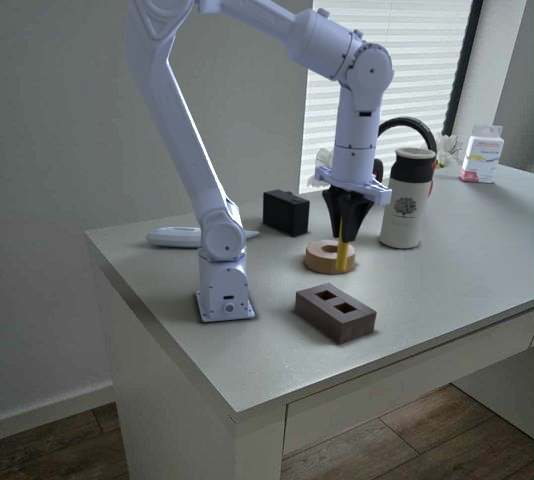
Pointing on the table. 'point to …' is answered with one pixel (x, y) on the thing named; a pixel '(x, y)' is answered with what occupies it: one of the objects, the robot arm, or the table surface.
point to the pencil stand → (335, 312)
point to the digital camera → (286, 212)
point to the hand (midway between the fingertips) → (343, 239)
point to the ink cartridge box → (482, 154)
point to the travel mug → (407, 197)
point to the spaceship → (181, 236)
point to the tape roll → (327, 256)
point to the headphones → (414, 124)
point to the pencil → (341, 252)
